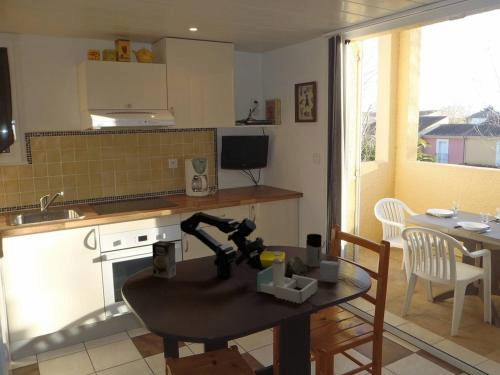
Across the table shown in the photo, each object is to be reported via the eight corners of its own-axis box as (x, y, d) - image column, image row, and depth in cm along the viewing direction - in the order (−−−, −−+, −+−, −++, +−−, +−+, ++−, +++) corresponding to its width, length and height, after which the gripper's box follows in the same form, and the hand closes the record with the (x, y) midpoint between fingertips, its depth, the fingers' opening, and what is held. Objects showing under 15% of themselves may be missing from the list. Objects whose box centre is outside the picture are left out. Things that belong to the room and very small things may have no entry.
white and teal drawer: (257, 291, 188) (257, 273, 187) (274, 280, 200) (274, 264, 199) (281, 297, 182) (281, 279, 180) (297, 286, 194) (297, 268, 192)
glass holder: (310, 260, 230) (310, 232, 227) (334, 265, 222) (335, 236, 219) (302, 264, 223) (302, 236, 220) (327, 270, 215) (328, 240, 212)
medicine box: (338, 279, 202) (338, 262, 200) (337, 283, 198) (337, 265, 196) (321, 277, 204) (321, 260, 203) (319, 281, 200) (320, 263, 199)
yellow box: (257, 258, 235) (257, 249, 234) (285, 259, 232) (285, 250, 231) (252, 267, 220) (252, 258, 219) (282, 269, 217) (282, 259, 217)
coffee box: (152, 276, 207) (151, 243, 205) (160, 272, 213) (159, 240, 210) (169, 279, 204) (167, 245, 201) (176, 274, 210) (175, 242, 207)
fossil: (306, 277, 203) (296, 259, 202) (289, 285, 206) (279, 266, 205) (309, 269, 213) (299, 251, 213) (292, 276, 216) (283, 258, 215)
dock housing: (275, 297, 183) (275, 286, 182) (293, 285, 196) (293, 274, 195) (300, 303, 176) (300, 292, 175) (317, 290, 189) (317, 279, 188)
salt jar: (273, 288, 188) (273, 262, 186) (272, 284, 193) (272, 258, 191) (285, 288, 188) (285, 261, 186) (283, 283, 193) (283, 257, 191)
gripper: (240, 237, 187) (262, 266, 182) (263, 227, 202) (284, 254, 198) (225, 251, 192) (247, 280, 188) (249, 241, 208) (269, 268, 203)
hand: (262, 270), depth 194 cm, fingers closed
